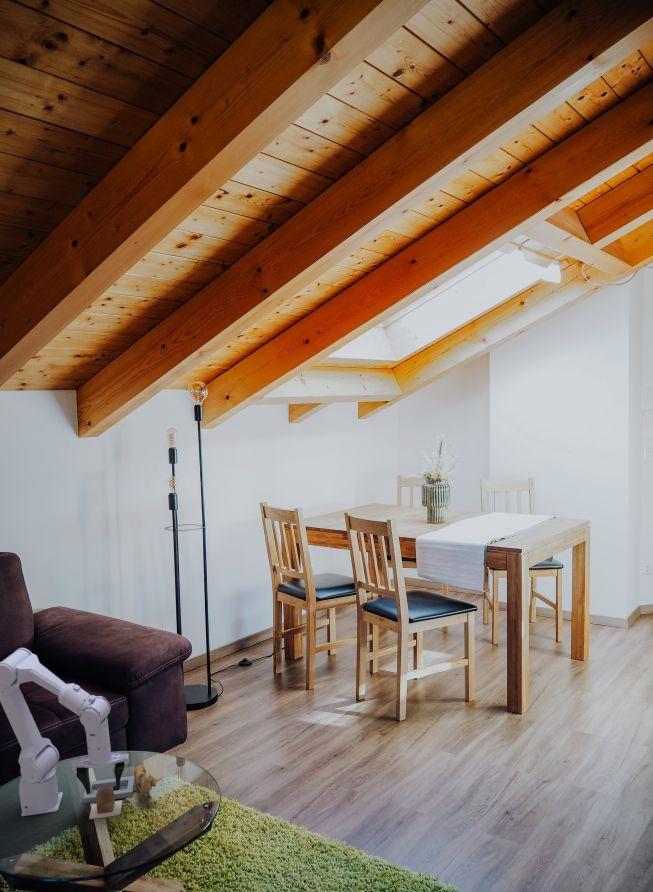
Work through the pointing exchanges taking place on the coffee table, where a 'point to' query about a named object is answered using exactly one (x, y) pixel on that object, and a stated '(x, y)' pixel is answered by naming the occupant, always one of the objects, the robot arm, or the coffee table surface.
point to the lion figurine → (143, 782)
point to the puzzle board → (112, 782)
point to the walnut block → (105, 799)
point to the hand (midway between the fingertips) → (103, 790)
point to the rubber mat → (115, 812)
